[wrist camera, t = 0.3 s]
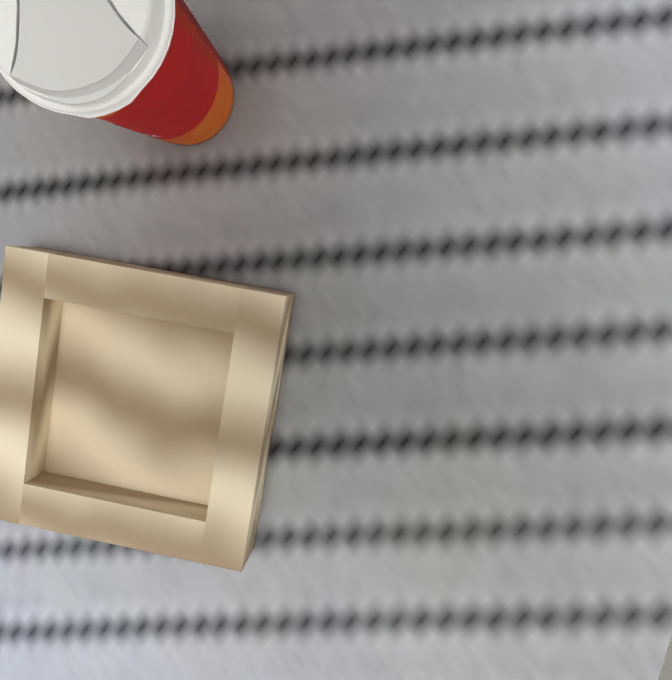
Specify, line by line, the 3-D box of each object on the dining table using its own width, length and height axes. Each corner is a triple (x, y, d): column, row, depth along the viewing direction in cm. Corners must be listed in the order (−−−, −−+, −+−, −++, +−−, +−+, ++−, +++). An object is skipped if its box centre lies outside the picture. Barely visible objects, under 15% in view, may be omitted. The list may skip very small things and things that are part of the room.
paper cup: (107, 45, 37) (-70, -86, 23) (234, 9, 36) (130, -151, 22) (141, 180, 37) (-10, 133, 24) (267, 148, 36) (186, 79, 23)
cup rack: (36, 246, 39) (6, 245, 36) (295, 293, 37) (286, 296, 34) (9, 496, 41) (-21, 515, 38) (253, 548, 40) (241, 571, 37)
